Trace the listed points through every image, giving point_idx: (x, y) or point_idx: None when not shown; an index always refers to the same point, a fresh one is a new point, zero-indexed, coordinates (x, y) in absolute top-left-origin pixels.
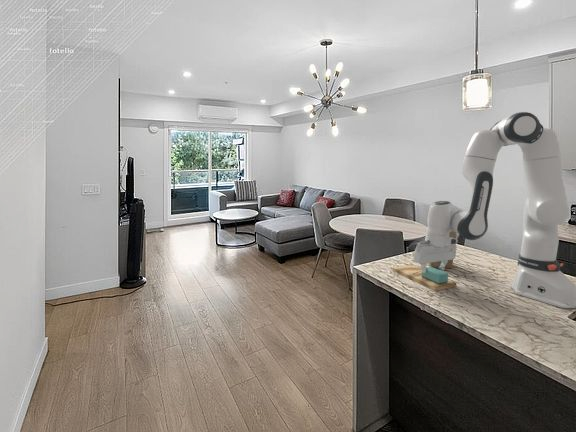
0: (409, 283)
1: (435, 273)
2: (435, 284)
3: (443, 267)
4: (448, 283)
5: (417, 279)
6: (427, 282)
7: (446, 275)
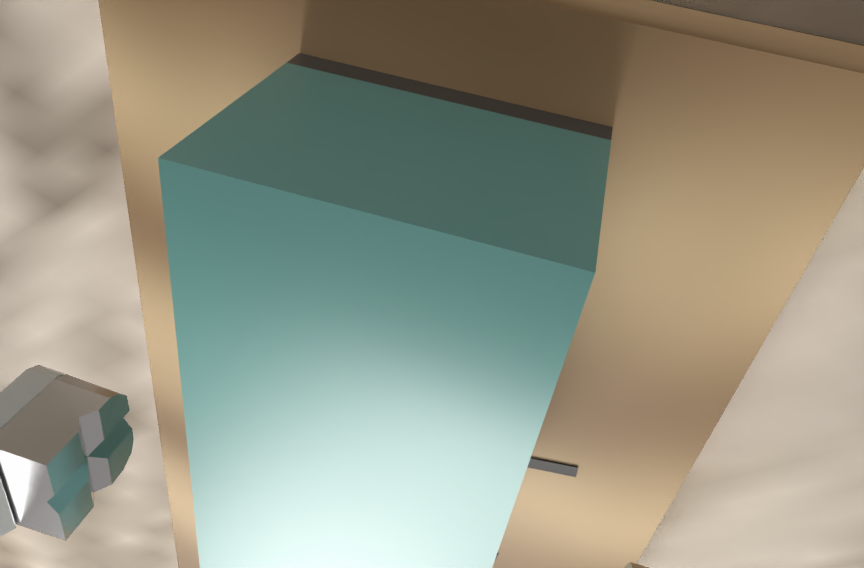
0: (834, 515)
1: (535, 408)
2: (676, 174)
3: (18, 424)
4: (314, 8)
5: (668, 501)
6: (697, 338)
7: (261, 154)
